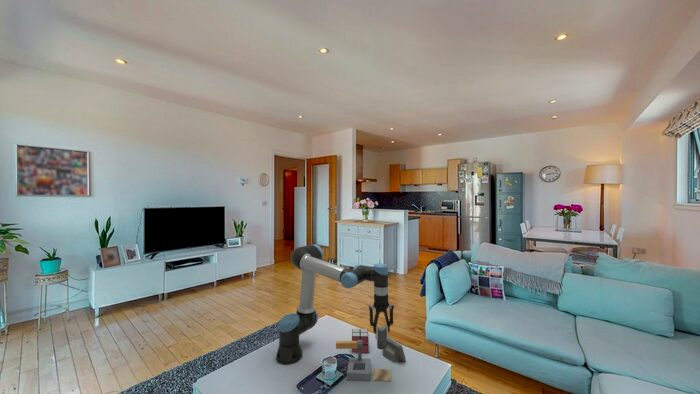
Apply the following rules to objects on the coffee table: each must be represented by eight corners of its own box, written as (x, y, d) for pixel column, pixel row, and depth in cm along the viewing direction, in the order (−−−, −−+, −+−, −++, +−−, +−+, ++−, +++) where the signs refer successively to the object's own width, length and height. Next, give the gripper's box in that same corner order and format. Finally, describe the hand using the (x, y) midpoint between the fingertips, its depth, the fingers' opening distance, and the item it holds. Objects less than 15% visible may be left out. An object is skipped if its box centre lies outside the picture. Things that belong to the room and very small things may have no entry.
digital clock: (407, 362, 155) (407, 343, 155) (393, 366, 151) (393, 347, 151) (392, 348, 169) (391, 331, 170) (379, 351, 166) (379, 334, 166)
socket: (346, 379, 140) (346, 359, 140) (349, 363, 154) (349, 345, 154) (370, 381, 139) (370, 360, 139) (370, 365, 152) (370, 346, 152)
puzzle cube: (368, 353, 164) (368, 336, 164) (352, 353, 165) (351, 336, 165) (367, 344, 174) (367, 328, 174) (352, 344, 175) (352, 328, 175)
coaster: (373, 380, 139) (373, 379, 139) (373, 369, 148) (373, 368, 148) (390, 381, 138) (390, 380, 138) (390, 370, 147) (390, 369, 147)
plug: (377, 349, 141) (376, 330, 141) (377, 344, 146) (377, 325, 146) (386, 349, 141) (386, 330, 141) (386, 344, 145) (386, 326, 146)
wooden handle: (336, 346, 153) (336, 340, 153) (362, 345, 153) (362, 339, 153) (335, 349, 149) (335, 343, 150) (363, 348, 150) (363, 342, 150)
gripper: (366, 297, 139) (366, 343, 138) (399, 295, 141) (400, 340, 141) (363, 292, 146) (363, 336, 146) (395, 290, 149) (395, 333, 149)
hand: (381, 338), depth 143 cm, fingers closed on plug, 5 cm apart
